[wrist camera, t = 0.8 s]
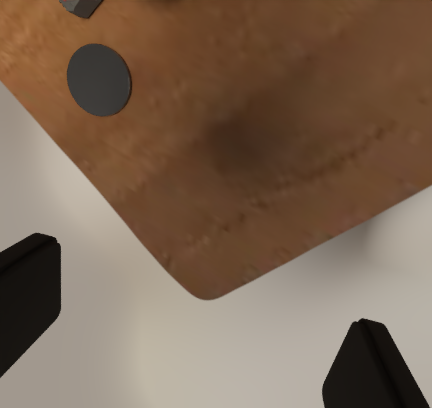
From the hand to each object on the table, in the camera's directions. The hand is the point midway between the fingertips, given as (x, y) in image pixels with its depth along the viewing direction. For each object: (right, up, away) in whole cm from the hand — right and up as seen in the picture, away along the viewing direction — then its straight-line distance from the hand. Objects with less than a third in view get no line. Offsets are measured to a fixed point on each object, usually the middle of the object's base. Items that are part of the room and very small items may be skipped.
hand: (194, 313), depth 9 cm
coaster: (-13, +18, +26) cm, 34 cm away
